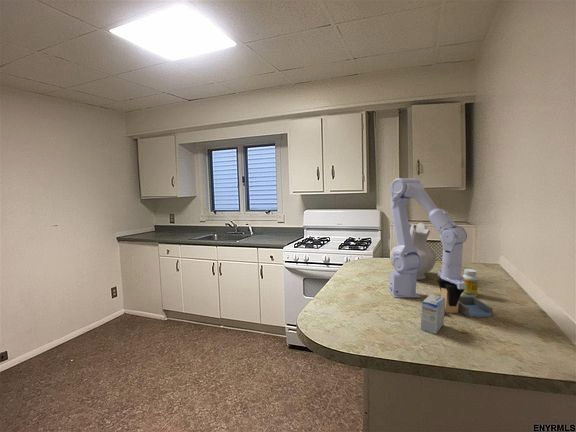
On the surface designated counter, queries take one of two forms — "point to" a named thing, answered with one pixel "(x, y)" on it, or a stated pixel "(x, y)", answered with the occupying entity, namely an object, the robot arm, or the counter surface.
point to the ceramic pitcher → (420, 249)
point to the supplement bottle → (470, 282)
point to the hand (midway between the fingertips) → (449, 303)
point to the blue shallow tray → (473, 307)
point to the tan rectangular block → (448, 308)
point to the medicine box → (432, 313)
